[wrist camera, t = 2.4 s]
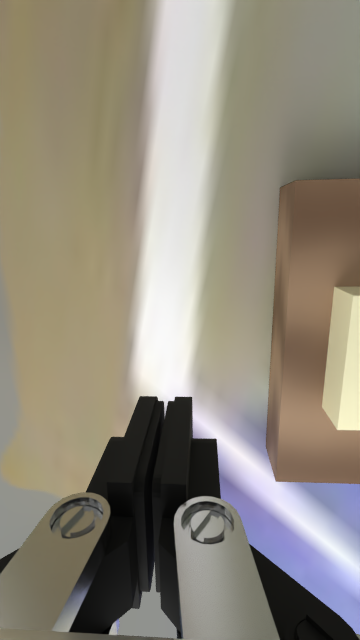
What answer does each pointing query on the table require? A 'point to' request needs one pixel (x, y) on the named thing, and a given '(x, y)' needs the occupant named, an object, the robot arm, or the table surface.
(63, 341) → the table surface
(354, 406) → the notepad
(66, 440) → the table surface
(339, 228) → the block
